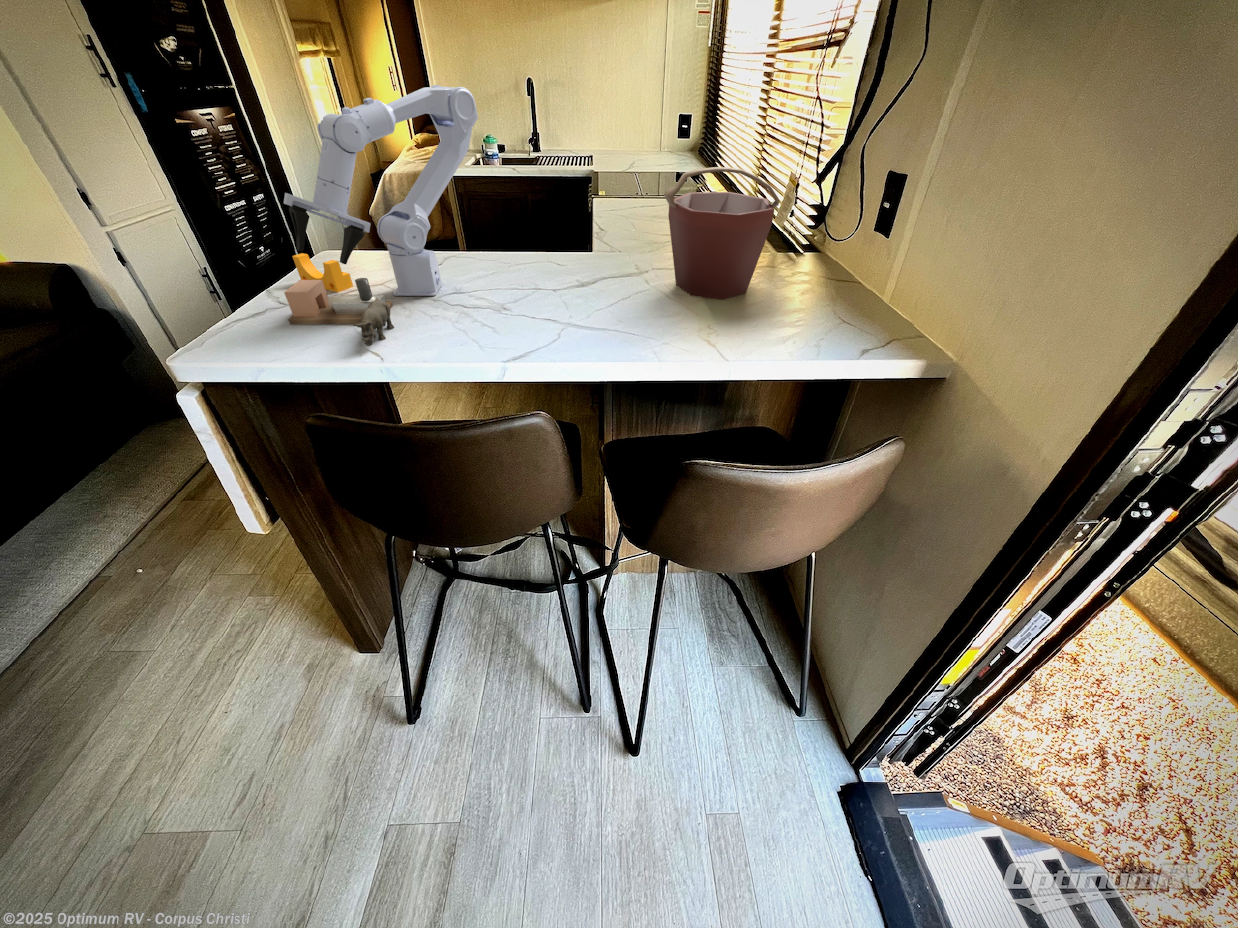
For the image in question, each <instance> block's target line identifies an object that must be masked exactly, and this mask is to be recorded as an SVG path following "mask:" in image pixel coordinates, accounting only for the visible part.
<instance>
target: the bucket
mask: <svg viewBox="0 0 1238 928" xmlns="http://www.w3.org/2000/svg"><path fill="white" fill-rule="evenodd" d="M717 172H718V173H721V172H722V173H723V172H724V173H734V174H741V175H742V176H744V177H747V178H749V179H751V180H753V181H755V182H756V183H758V184H759V185H761V186H762V187H763V188H766V189H767V190H768V192H769V193H770V194H771V196H772V198H773V199H774V201H772V202H770V201H769V199H768V198H764V197H759V196H753V195H749V194H742V193H736V192H732V191H714V192H713V191H711V192H710V191H707V192H705V191H704V192H703V191H702V192H687V193H684V194H682V195H679V196H678V197H677V196H676V195H677V194H678V193H679V192H680V190H681V189H682V187H684V184H685V183H686V181H687V180H688V178H691V177H694V176H699V175H703V174H704V175H705V174H710V173H717ZM663 196H664V198H665V201H666V202H667V204H668V222H669V223H668V224H669V231H670V232H669V233H670V241H671V250H672V260H673V267H674V268H673V271H674V277H675V286H677V287H678V288H679V289H680V290H682V291H683V292H684V293H686V294H688V296H691V297H696V298H697V297H698V298H705V299H706V298H707V299H714V300H721V301H722V300H727V299H730V298H735V297H738V296H742V295H744V294H747V293H748V289H749V286H750V283H751V281H752V279H753V278H752V277H753V276H754V273H755V270H756V267H757V265H758V261H759V259H760V257H761V254H762V252H763V249H764V246H765V244H766V240H767V238H768V235H769V233H770V231H771V228H772V225H773V219H774V214H775V208H777V207H778V206H779V204H780V199H779V197H778V195H777V194H776V192H775V190H774V189H773V187H771V185H770V184H769V183H767V182H766V181H764V180H762V178H760V177H759V176H757V175H754V174H753V173H750V172H749V171H747V170H744V169H742V168H737V167H727V166H726V167H725V166H714V167H712V166H711V167H703V168H699V169H693V170H689V171H685V172H683V173H682V175H681V176H680V178H679V180H678V181H677V183H676V184H675V185H674V186H673V187H669V188H668V189H667V190H666V191H665V192H664V193H663ZM675 196H676V197H675Z"/></svg>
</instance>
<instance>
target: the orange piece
mask: <svg viewBox="0 0 1238 928" xmlns="http://www.w3.org/2000/svg"><path fill="white" fill-rule="evenodd" d="M291 257H292V259H293V261H294V265H295V267H296V270H297V273H298V274H299V278H300V280H322V282H323V284H324V287H325V290H326V291H331V292H335V293H340V292H344V291H346V290H349V289H351V288H354V284H353V281H352V280H353V279H352V277H351V274H350V272H345V271H342V268H341V264H340V260H335V259H331V260H327V261H325V262H322V266H323V272H321V271H320V270H319V269H317V267H316V266H315V265H314V263H313V262H312V260H311V258H310V256H309V254H307V253H303V252H301V253H297V254H294V255H292V256H291Z"/></svg>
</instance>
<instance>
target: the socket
mask: <svg viewBox="0 0 1238 928" xmlns="http://www.w3.org/2000/svg"><path fill="white" fill-rule="evenodd" d="M283 293H284V295H285V298H286V301H287V303H288V306H289V308H290V310H291V313H292V315H293V316H294V317H300V316H317V315H318V314H319V313H320V310H319V307H327V306H328V297H329V296H328V294H327V290H326V289H325V287H324V284H323V282H322V280H301V279H300V280H297V281H296V282H295V283H294V284H292V285H291V286H290V287H289V288H288V289H286V290H285V291H283Z"/></svg>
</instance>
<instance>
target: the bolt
mask: <svg viewBox="0 0 1238 928" xmlns="http://www.w3.org/2000/svg"><path fill="white" fill-rule="evenodd" d="M354 282H355V285H356V288H357V293H358V295H359V296H360V297H340V296H328V305H329V307H330V308H331V309H334V306H333V303H334V302H372V301H374V300H376V297H373V296H372V295H373V292H372V289H371V286H370V282H369V279H368V277H360V278H356V279H354Z"/></svg>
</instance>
